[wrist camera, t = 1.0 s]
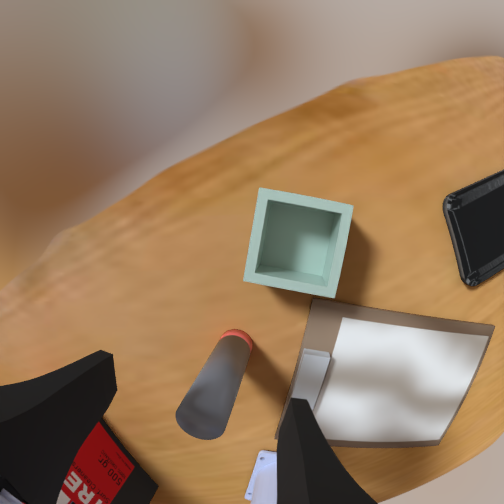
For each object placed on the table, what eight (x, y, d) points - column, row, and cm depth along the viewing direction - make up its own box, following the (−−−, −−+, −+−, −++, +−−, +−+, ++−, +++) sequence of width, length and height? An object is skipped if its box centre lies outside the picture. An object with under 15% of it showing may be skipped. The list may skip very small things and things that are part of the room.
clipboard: (436, 443, 21) (441, 450, 20) (274, 436, 23) (273, 445, 22) (492, 324, 19) (500, 329, 18) (313, 297, 21) (314, 302, 20)
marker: (249, 361, 23) (222, 444, 13) (218, 354, 23) (174, 431, 13) (255, 333, 22) (228, 409, 12) (222, 326, 23) (176, 395, 13)
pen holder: (327, 283, 21) (334, 298, 17) (252, 269, 22) (243, 280, 18) (342, 207, 20) (353, 205, 16) (265, 193, 21) (259, 187, 17)
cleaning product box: (158, 486, 27) (96, 596, 7) (114, 484, 28) (51, 571, 9) (81, 385, 26) (-40, 482, 6) (44, 393, 27) (-55, 467, 8)
